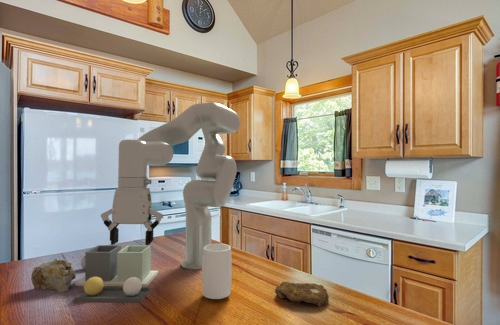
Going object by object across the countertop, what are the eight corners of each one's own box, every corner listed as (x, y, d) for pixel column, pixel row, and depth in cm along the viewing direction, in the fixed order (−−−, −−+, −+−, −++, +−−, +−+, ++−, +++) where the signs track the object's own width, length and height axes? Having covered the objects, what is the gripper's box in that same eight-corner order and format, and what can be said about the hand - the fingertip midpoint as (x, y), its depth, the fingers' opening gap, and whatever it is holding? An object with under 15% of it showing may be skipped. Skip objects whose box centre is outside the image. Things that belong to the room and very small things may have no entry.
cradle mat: (151, 290, 88) (151, 286, 88) (141, 303, 80) (141, 299, 80) (87, 290, 88) (87, 285, 88) (71, 303, 80) (71, 298, 80)
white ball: (144, 291, 86) (144, 274, 86) (137, 299, 81) (137, 281, 81) (127, 291, 86) (127, 274, 86) (119, 299, 81) (119, 281, 81)
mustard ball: (107, 291, 86) (107, 274, 86) (98, 299, 81) (98, 280, 81) (90, 290, 86) (90, 273, 86) (80, 298, 81) (80, 280, 81)
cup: (198, 293, 86) (199, 245, 86) (226, 288, 90) (226, 242, 90) (206, 306, 78) (206, 253, 78) (235, 300, 82) (236, 249, 82)
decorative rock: (274, 310, 78) (331, 313, 77) (275, 295, 78) (332, 298, 77) (273, 289, 89) (322, 291, 89) (273, 275, 89) (323, 278, 89)
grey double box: (158, 274, 101) (158, 244, 101) (146, 287, 90) (147, 254, 90) (94, 273, 101) (94, 243, 101) (75, 287, 90) (75, 253, 90)
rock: (84, 281, 91) (72, 251, 91) (66, 293, 85) (53, 261, 84) (56, 288, 95) (44, 260, 94) (37, 301, 88) (24, 270, 88)
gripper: (166, 183, 87) (165, 240, 87) (108, 182, 87) (107, 240, 87) (158, 184, 80) (157, 248, 79) (95, 183, 80) (94, 247, 80)
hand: (131, 243), depth 83 cm, fingers open, 9 cm apart
